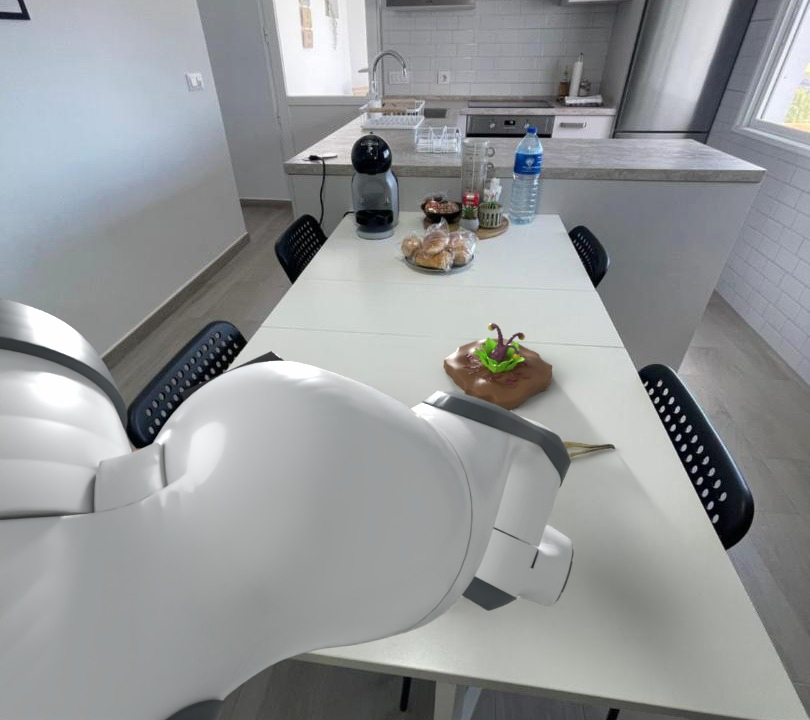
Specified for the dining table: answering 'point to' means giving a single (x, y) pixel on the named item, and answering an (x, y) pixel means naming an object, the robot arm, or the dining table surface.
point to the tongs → (591, 447)
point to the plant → (499, 370)
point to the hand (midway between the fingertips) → (344, 468)
